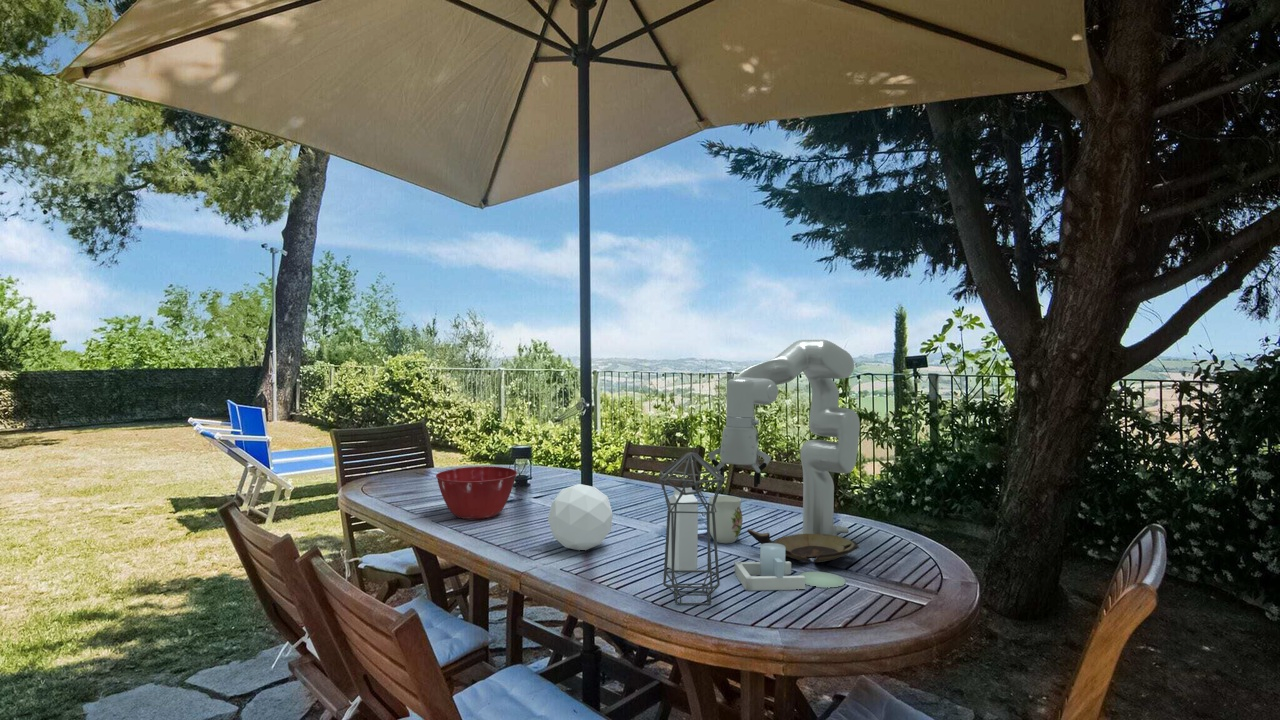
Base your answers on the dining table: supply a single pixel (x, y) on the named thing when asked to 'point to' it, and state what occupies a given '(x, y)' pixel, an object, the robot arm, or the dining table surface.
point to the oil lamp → (810, 545)
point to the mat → (822, 579)
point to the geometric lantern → (719, 479)
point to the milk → (684, 533)
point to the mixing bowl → (476, 490)
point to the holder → (766, 578)
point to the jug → (772, 560)
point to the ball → (580, 517)
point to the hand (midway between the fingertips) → (738, 485)
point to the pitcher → (726, 518)
